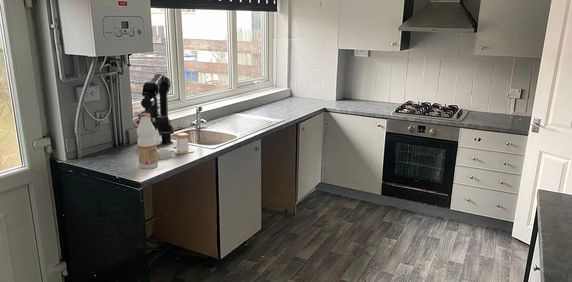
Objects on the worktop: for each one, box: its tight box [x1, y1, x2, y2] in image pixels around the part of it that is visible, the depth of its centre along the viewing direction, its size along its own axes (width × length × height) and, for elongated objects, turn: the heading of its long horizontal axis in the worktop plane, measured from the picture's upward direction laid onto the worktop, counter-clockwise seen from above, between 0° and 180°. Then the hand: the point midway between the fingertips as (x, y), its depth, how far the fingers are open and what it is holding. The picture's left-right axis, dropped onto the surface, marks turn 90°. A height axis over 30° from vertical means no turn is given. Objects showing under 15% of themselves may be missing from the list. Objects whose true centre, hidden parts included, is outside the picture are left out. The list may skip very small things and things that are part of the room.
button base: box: [157, 147, 173, 160], centre depth 240 cm, size 7×7×4 cm
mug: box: [155, 128, 162, 146], centre depth 259 cm, size 12×8×10 cm
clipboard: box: [169, 145, 195, 156], centre depth 252 cm, size 12×10×2 cm
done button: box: [158, 147, 169, 152], centre depth 240 cm, size 4×4×2 cm
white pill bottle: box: [175, 132, 190, 152], centre depth 249 cm, size 5×5×10 cm
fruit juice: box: [136, 113, 159, 170], centre depth 221 cm, size 9×9×28 cm
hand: (154, 132), depth 241 cm, fingers closed
